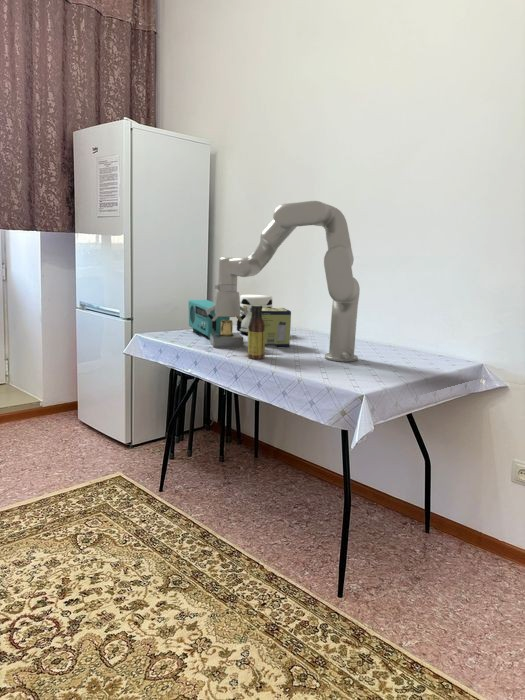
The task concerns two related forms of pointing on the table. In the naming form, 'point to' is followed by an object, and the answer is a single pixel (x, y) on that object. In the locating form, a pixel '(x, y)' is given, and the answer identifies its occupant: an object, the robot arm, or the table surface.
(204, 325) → the radio
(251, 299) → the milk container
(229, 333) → the gold drink can
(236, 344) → the housing
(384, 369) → the table surface
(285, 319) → the protein box
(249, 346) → the sauce bottle
